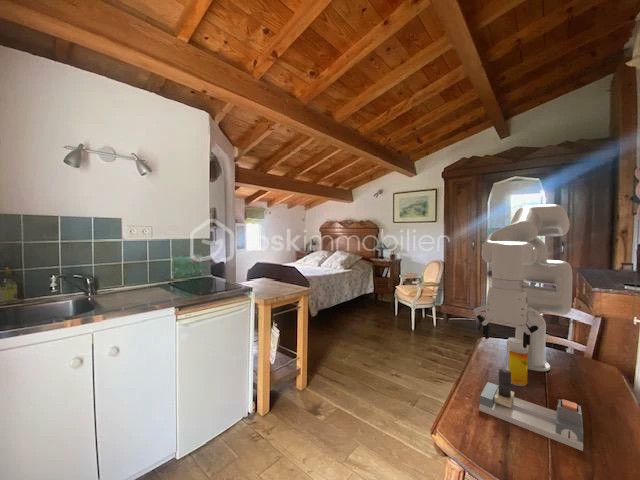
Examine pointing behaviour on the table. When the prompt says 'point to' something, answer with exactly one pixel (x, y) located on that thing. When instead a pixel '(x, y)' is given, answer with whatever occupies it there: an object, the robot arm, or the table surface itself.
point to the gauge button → (569, 405)
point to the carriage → (504, 389)
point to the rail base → (537, 417)
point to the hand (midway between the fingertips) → (505, 341)
